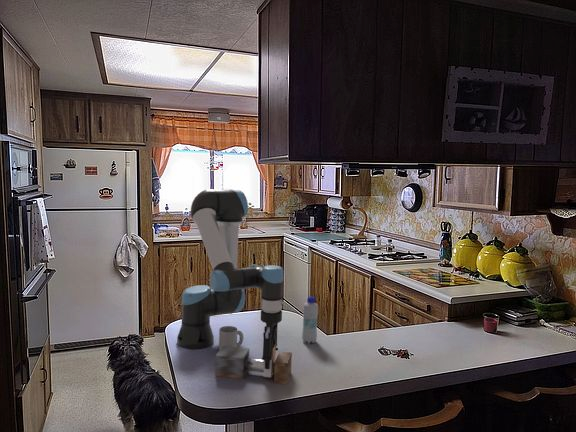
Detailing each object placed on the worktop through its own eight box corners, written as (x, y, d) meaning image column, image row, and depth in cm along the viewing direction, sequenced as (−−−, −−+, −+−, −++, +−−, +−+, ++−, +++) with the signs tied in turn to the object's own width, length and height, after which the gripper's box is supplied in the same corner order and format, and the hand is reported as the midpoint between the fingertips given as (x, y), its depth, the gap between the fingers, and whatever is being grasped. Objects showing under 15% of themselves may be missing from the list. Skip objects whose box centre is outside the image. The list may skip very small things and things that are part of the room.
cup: (217, 347, 178) (217, 327, 177) (241, 345, 181) (241, 324, 180) (220, 355, 171) (221, 333, 170) (245, 352, 174) (246, 330, 173)
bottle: (317, 339, 191) (319, 295, 189) (316, 345, 184) (318, 299, 182) (302, 338, 191) (303, 294, 189) (301, 344, 185) (302, 298, 183)
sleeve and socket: (215, 375, 154) (215, 355, 153) (223, 364, 163) (223, 345, 162) (286, 384, 149) (287, 363, 149) (291, 372, 158) (291, 352, 157)
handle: (235, 371, 154) (235, 345, 153) (238, 366, 159) (239, 340, 158) (284, 377, 152) (285, 350, 150) (286, 371, 156) (287, 345, 155)
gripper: (276, 319, 143) (274, 386, 145) (286, 302, 161) (284, 362, 163) (254, 317, 144) (252, 383, 146) (267, 301, 162) (265, 360, 165)
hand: (269, 372), depth 155 cm, fingers open, 6 cm apart
